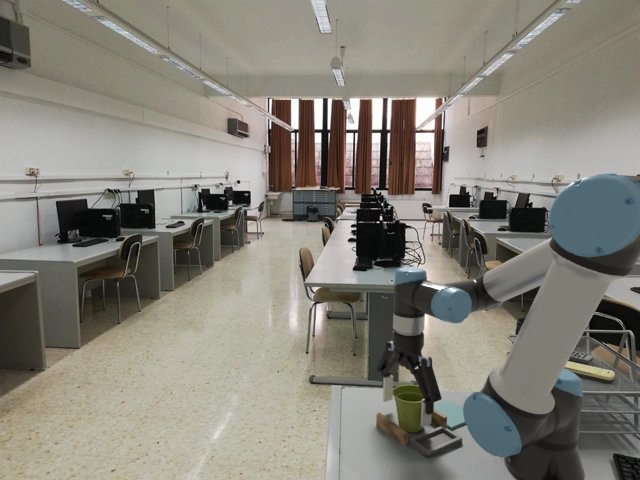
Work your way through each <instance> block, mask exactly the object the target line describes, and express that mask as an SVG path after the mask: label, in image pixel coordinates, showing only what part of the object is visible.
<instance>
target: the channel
mask: <svg viewBox="0 0 640 480" xmlns="http://www.w3.org/2000/svg"><path fill="white" fill-rule="evenodd" d="M431 423H433V424H434V425H436V426H437V427H440V426H442V425H443V426H444V427H446V428H447V429H448V427H447V416H445V415H443V414H442V413H440V412H438V411H437V410H435V409H434V412H433V413H432V415H431ZM376 427H378V428H380V429H381V430H382V431H384V433H386V434H388V435H389V436H390V437H391V438H393V439H394V440H396V441H397V442H398V443H399V444H401V446H403V447H405V446H407V445H408V441H409V438H408V432H407V431H406V430H404V429H402V428H401V427H399V424H397V423H395V422H394V421H392V420H391V419H390V418H388V417H386V416H385V415H384V414H383V413H381V412H378V413H376Z"/></svg>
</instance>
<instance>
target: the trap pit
mask: <svg viewBox="0 0 640 480" xmlns="http://www.w3.org/2000/svg"><path fill="white" fill-rule="evenodd" d="M462 443H463V437H462V436H460V435H458V434H457V433H455V432H454V431H452V430H451V429H449V428H448V427H447V428H446V427H444V426H443V425H442V426H440V427H439V426H437V427H436V428H433V429H430V430H428V431H425V432H423V433H421V434H418V435H416V436H414V437H411V438H408V445H410V446H411V447H412V448H414V449H415V450H416V451H418V452H419V453H420V454H422V455H423V456H424V457H426V458H427V459H428V458H431V457H433V456H435V455H438V454H440V453H443V452H444V451H447V450H449V449H451V448H453V447H455V446H457V445H460V444H462Z"/></svg>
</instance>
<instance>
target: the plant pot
mask: <svg viewBox="0 0 640 480" xmlns="http://www.w3.org/2000/svg"><path fill="white" fill-rule="evenodd" d="M392 394H393V399H394V401H395V406H396V413H397V421H398V426H399V427H401V428H402V429H404V430H405V431H406V432H409V433H419V432H420V431H422V430H423V429H425V427H422V426H421V403H422V400H423V399H424V397H423V395H422V393H421V391H420V388H419V386H418V384H417V385H416V384H402V385H401V384H400V385H397V386H395V387H393V391H392ZM428 396H429V394H428Z"/></svg>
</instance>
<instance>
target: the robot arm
mask: <svg viewBox="0 0 640 480" xmlns="http://www.w3.org/2000/svg"><path fill="white" fill-rule="evenodd" d="M548 225H549V227H550V228H551V231H550V233H551V236H552V237H550V238H548V239H546V240H544V241H542V242H541V243H539V244H536V245H535V246H533V247H531V248H529V249H527V250H525V251H523V252H521V253H520V254H518V255H515V256H514V257H512V258H510V259H508V260H507V261H505V262H503V263H501V264H499V265H497V266H495V267H493V268H492V269H490V270H488V271H486V272H484V273H483V274H481V275H479V276H476V277H475V278H472V279H467V280H461V281H455V282H448V283H439V282H435V281H434V282H433V281H431V280H428V277H427V276H428V275H427V271H426V270H425V269H424V268H421V267H414V266H405V267H403V266H402V267H398V268H397V269H396V270H395V274H394V283H393V288H394V289H393V316H392V317H393V318H392V328H393V329H394V330H393V331H392V340H391V341H387V342H385V348H384V351H383V354H382V356H381V358H380V360H379V362H378V364H377V367H376V370H377V372H380V374H381V377H382V379H381V381H382V383H381V385H382V401H383V402H384V403H386V402H389V401H392V400H393V399H394V396H393V394H392V391H393V389H394V375H392V374H393V373H394V371H395V370H396V369H397V368H398V367H399V366H400V367H403V368H405V369H406V370H409V373H410V374H412V376H413V377H414V379H415V382H416V383H417V386H419V388H420V391H421V393H422V395H423V397H424V399H423V400H422V403H421V426H422V427H424V428H425V427H427V426H430V425H431V424H432V422H431V415H432V413H433V412H434V404H435V403H436V402H438V401H441V400H442V394H441V391H440V388H439V384H438V380H437V378H436V374H435V371H434V368H433V358H432V357H431V356H426V357H425V356H423V353H422V350H423V348H424V346H425V332H424V331H425V318H426V317H425V316H426V315H427V316H431V317H433V318H435V319H438V320H439V321H442V322H445V323H450V324H461V323H463V322H464V321H465V319H467V318H468V317H469V316H470V314H472V313H476V312H481V311H487V310H488V311H489V310H493V309H496V308H497V307H500V306H501V305H503V304H504V302H506V301H507V300H510V299H512V298H514V297H517V296H519V295H522V294H524V293H527V292H529V291H531V290H533V289H536V288H538V287H539V289H538V292H537V294H536V295H535V297H534V300H533V301H532V304H531V305H530V308H529V310H528V312H527V314H526V316H525V318H524V320H523V323H522V325H521V327H520V329H519V332H518V333H517V335H516V337H515V340H514V342H513V344H512V346H511V348H510V350H509V352H508V355H507V356H506V359H505V361H504V363H503V365H497V366H495V367H493V368H492V369H491V371H490V372H489V374H488V376H487V378H486V380H485V382H484V385H483V387H482V388H481V390H480V391H476V392H472V394H470V395H468V396H467V397H466V399H465V400H464V403H463V415H464V420H465V422H466V424H465V425H466V426H467V427H466V428H467V431H468V432H469V434H470V436H471V437H472V439H473V441H474V442H475V443H477V445H478V446H479V447H480V449H482V450H483V451H484V452H486V453H488V454H489V455H491V456H493V457H498V458H503V461H504V465H505V467H506V468H507V470H508V471H509V472H510V473H511V474H512V475H513V476H514V477H515V478H517V479H518V480H586V479H585V478H586V476H585V475H586V474H585V469H584V466H583V462H582V460H581V455H580V451H579V446H578V444H579V431H580V425H581V424H580V423H581V413H582V405H583V398H584V394H583V390H584V389H583V387H584V386H583V381H582V379H581V378H580V377H579V376H578V375H577V374H576V373H574V372H572V371H570V370H569V369H565V367H566V365H567V363H568V362H569V360H570V357H571V356H572V355H573V353H574V351H575V349H576V346H577V345H578V344H579V342H580V340H581V338H582V336H583V334H584V333H585V330H586V328H587V327H588V325H589V323H590V321H591V319H592V318H593V316H594V314H595V312H596V311H597V309H598V307H599V304H600V303H601V302H602V300H603V298H604V296H605V294H606V293H607V290H608V289H609V287H610V286H611V283H612V282H613V281H616V280H620V279H625V278H627V277H628V276H629V275H630V274H631V272H632V271H633V268H634V267H635V266H636V263H637V261H638V260H639V258H640V175H627V174H626V175H623V174H616V173H602V174H601V173H600V174H594V175H590V176H586V177H583V178H580V179H577V180H575V181H572V183H570V184H568V185H567V186H565V187H564V188H563V189H562V190H561V191H560V192H559V194H558V195H557V196H556V197H555V198H554V200H553V202H552V204H551V207H550V210H549V214H548ZM394 355H395V356H394ZM393 356H394V357H393ZM428 394H429V396H428Z"/></svg>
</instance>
